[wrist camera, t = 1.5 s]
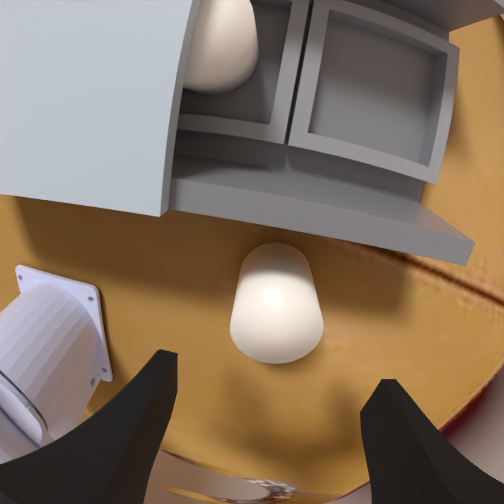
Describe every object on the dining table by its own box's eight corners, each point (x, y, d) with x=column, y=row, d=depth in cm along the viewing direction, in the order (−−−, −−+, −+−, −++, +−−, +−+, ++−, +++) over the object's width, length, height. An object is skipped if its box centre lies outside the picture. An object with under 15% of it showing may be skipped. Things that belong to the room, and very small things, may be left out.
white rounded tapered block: (251, 100, 13) (242, 88, 8) (167, 92, 12) (119, 81, 8) (266, 23, 11) (264, -22, 6) (182, 17, 11) (143, -22, 6)
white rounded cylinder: (301, 309, 18) (308, 368, 14) (235, 298, 18) (225, 356, 13) (318, 249, 16) (335, 299, 12) (246, 236, 16) (236, 283, 12)
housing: (406, 215, 15) (465, 266, 10) (4, 158, 15) (-62, 181, 9) (441, 21, 10) (507, -5, 5) (29, -3, 10) (-32, -18, 4)
